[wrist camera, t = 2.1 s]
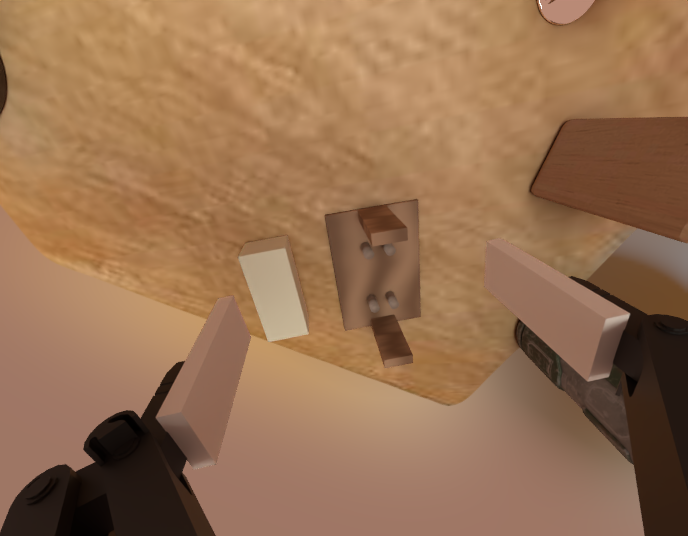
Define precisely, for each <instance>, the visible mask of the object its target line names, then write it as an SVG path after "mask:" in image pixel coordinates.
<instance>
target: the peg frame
mask: <svg viewBox="0 0 688 536" xmlns="http://www.w3.org/2000/svg"><path fill="white" fill-rule="evenodd" d="M325 219H326V225H327V230H328V236H329V242H330V247H331V253H332V259H333V265H334V270H335V276H336V282H337V287H338V293H339V299H340V305H341V310H342V316H343V322H344V327H345V331H346V330H352V329H357V328H363V327H368V326H372V329H373V332H374V336H375V339H376V342H377V345H378V348H379V351H380V355H381V358H382V361H383V364H384V367H385V368H389V367H394V366H400V365H405V364H410V363H413V355H412V353H411V350H410V348H409V346H408V344H407V342H406V339H405V337H404V335H403V333H402V331H401V328H400V326H399V324H398V322H397V321H400V320H406V319H411V318H417V317H421V310H420V264H419V219H418V200H417V199H416V200H410V201H404V202H398V203H392V204H386V205H380V206H374V207H369V208H363V209H357V210H351V211H345V212H339V213H333V214H327V215H325Z"/></svg>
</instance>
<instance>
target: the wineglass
mask: <svg viewBox="0 0 688 536" xmlns="http://www.w3.org/2000/svg"><path fill="white" fill-rule="evenodd" d="M594 1H595V0H537V3H538V7H539V10H540V12H541V14H542V16H543V17H544V18H545V19H546V20H547V21H548V22H550V23H552V24H555V25H565V24H569V23H571V22H573V21H575V20H577V19H578V18H580V17H581V16H582V15H583V14H584V13H585V12H586V11H587V10H588V9H589V8H590V7H591V5H592V4H593V2H594Z"/></svg>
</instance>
